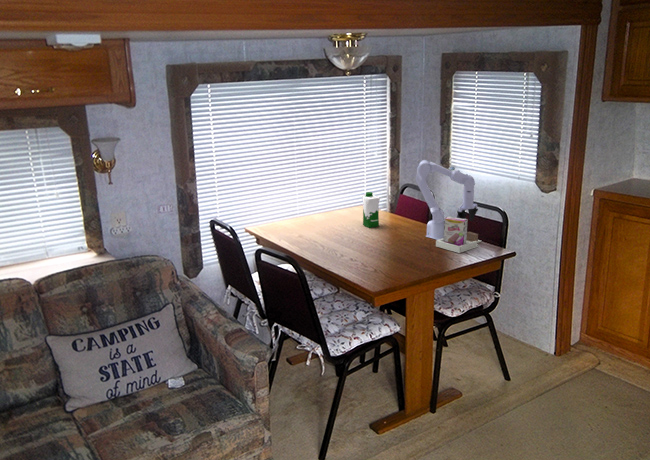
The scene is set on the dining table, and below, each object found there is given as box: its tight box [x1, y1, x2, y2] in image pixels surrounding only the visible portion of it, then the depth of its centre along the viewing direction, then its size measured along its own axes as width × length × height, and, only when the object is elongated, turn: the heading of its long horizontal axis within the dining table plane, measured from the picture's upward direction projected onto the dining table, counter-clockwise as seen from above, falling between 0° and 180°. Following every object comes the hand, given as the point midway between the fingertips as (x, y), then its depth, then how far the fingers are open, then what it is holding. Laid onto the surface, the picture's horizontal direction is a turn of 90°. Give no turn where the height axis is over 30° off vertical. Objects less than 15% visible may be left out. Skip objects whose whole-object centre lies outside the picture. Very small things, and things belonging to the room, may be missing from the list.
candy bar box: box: [443, 216, 469, 246], centre depth 315 cm, size 11×5×16 cm, turn 60°
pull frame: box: [435, 231, 482, 254], centre depth 321 cm, size 15×25×5 cm, turn 130°
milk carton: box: [362, 191, 381, 229], centre depth 358 cm, size 9×9×20 cm
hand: (466, 222), depth 331 cm, fingers open, 7 cm apart
